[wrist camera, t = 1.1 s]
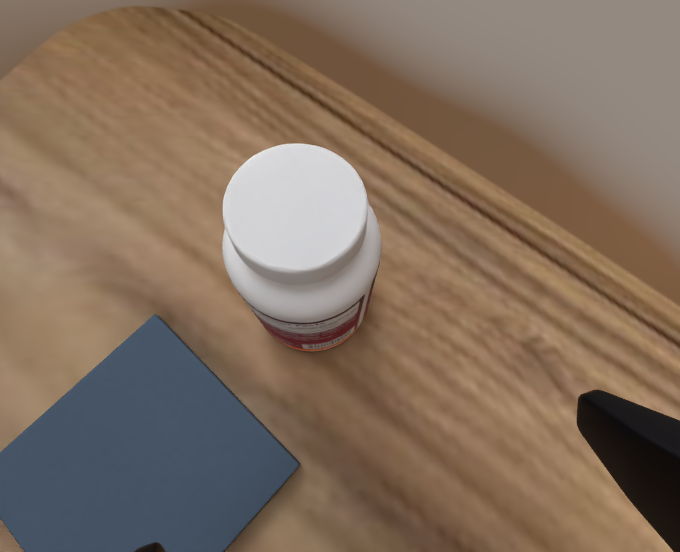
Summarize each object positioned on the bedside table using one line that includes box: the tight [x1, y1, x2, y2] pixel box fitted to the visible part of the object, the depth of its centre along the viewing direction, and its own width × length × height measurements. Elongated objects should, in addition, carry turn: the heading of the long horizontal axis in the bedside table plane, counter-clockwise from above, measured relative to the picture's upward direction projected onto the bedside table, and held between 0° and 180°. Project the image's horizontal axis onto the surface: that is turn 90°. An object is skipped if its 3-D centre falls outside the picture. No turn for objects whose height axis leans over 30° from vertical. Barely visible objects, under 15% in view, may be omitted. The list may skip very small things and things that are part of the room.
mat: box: [0, 314, 300, 552], centre depth 20 cm, size 11×11×1 cm
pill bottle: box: [222, 144, 381, 351], centre depth 19 cm, size 6×6×11 cm
